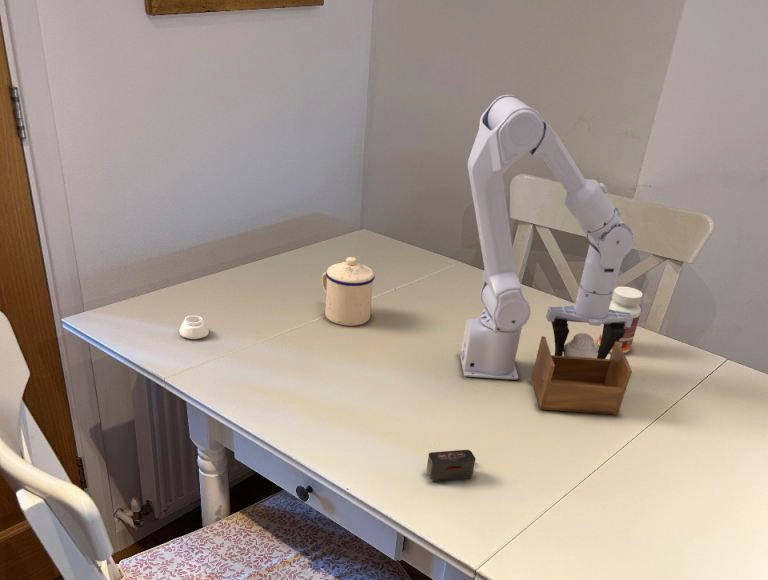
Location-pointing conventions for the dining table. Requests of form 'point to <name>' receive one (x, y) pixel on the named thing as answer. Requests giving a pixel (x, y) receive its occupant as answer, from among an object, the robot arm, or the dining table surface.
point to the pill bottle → (626, 302)
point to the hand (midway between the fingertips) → (578, 359)
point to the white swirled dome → (581, 347)
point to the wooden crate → (580, 381)
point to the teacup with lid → (348, 292)
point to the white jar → (193, 328)
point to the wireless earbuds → (450, 465)
